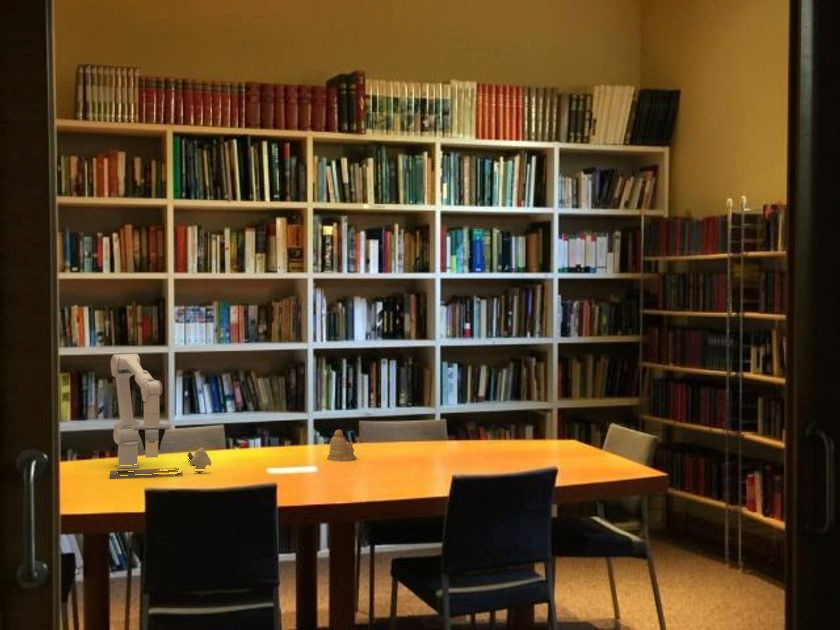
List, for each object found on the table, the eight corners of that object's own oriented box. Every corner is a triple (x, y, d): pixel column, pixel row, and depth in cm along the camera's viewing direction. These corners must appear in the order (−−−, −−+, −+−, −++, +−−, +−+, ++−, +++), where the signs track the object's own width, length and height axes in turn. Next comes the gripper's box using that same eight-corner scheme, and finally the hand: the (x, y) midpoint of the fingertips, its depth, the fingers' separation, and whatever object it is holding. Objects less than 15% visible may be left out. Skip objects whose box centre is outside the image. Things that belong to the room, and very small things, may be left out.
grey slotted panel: (110, 474, 400) (110, 470, 400) (181, 472, 406) (181, 467, 406) (109, 478, 392) (109, 474, 392) (182, 475, 398) (182, 471, 398)
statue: (316, 434, 432) (331, 424, 440) (323, 466, 436) (337, 455, 444) (340, 437, 425) (354, 427, 433) (346, 469, 429) (361, 458, 437)
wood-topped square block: (145, 455, 401) (145, 439, 400) (158, 455, 402) (158, 439, 401) (145, 457, 396) (145, 441, 396) (157, 457, 397) (157, 441, 397)
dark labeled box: (207, 459, 436) (206, 449, 436) (215, 470, 413) (215, 459, 413) (170, 461, 432) (170, 451, 432) (177, 472, 408) (177, 461, 408)
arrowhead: (190, 474, 402) (189, 447, 401) (189, 473, 404) (189, 446, 404) (211, 473, 404) (211, 447, 403) (211, 472, 406) (211, 446, 406)
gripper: (131, 415, 393) (131, 451, 394) (171, 414, 396) (171, 450, 397) (131, 412, 400) (132, 448, 400) (171, 411, 403) (171, 447, 404)
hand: (151, 449), depth 399 cm, fingers closed on wood-topped square block, 4 cm apart
